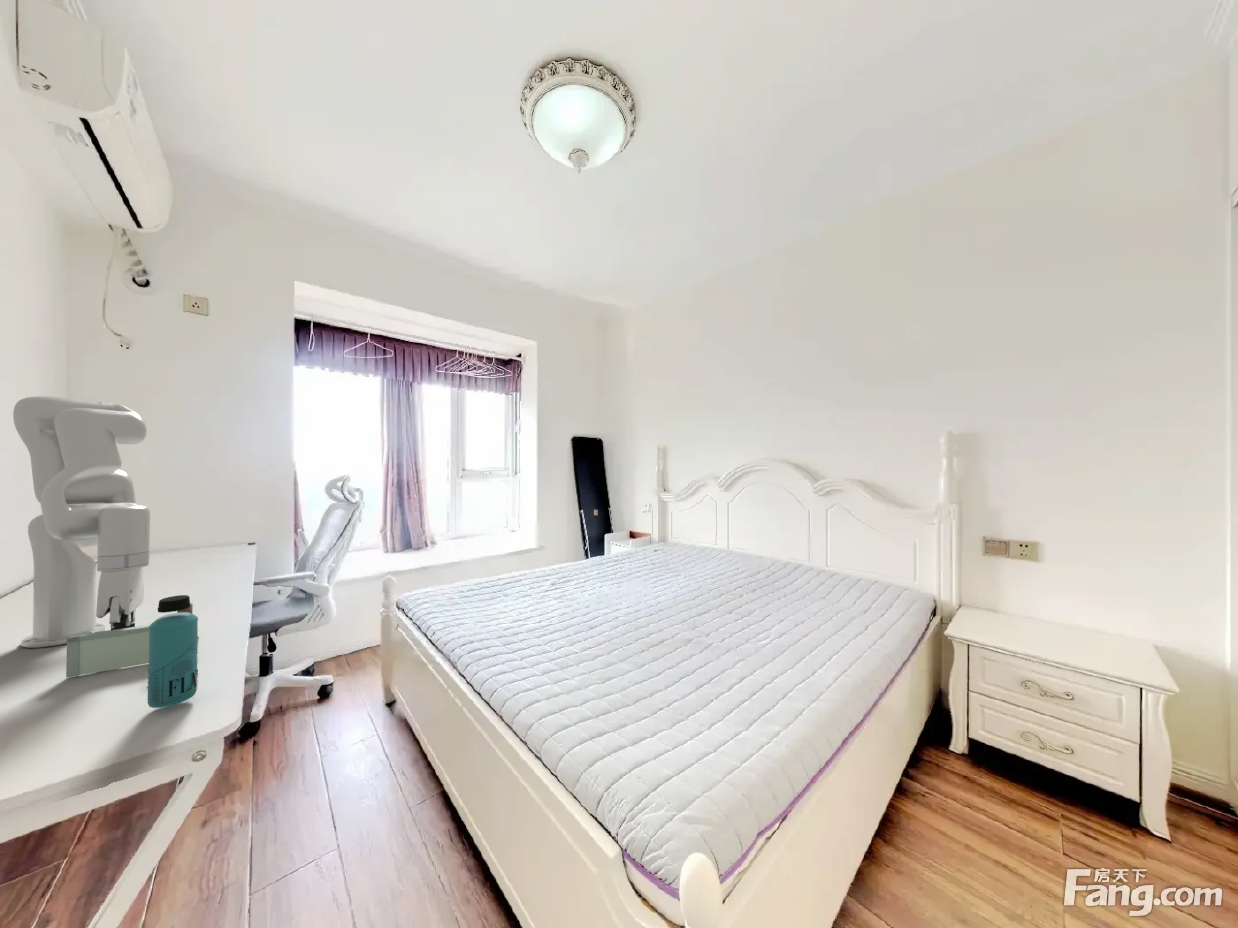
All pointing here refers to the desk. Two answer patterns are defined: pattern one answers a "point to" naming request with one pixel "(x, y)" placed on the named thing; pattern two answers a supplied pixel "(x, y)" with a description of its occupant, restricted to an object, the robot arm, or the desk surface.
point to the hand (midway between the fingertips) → (122, 643)
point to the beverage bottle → (172, 654)
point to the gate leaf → (107, 650)
